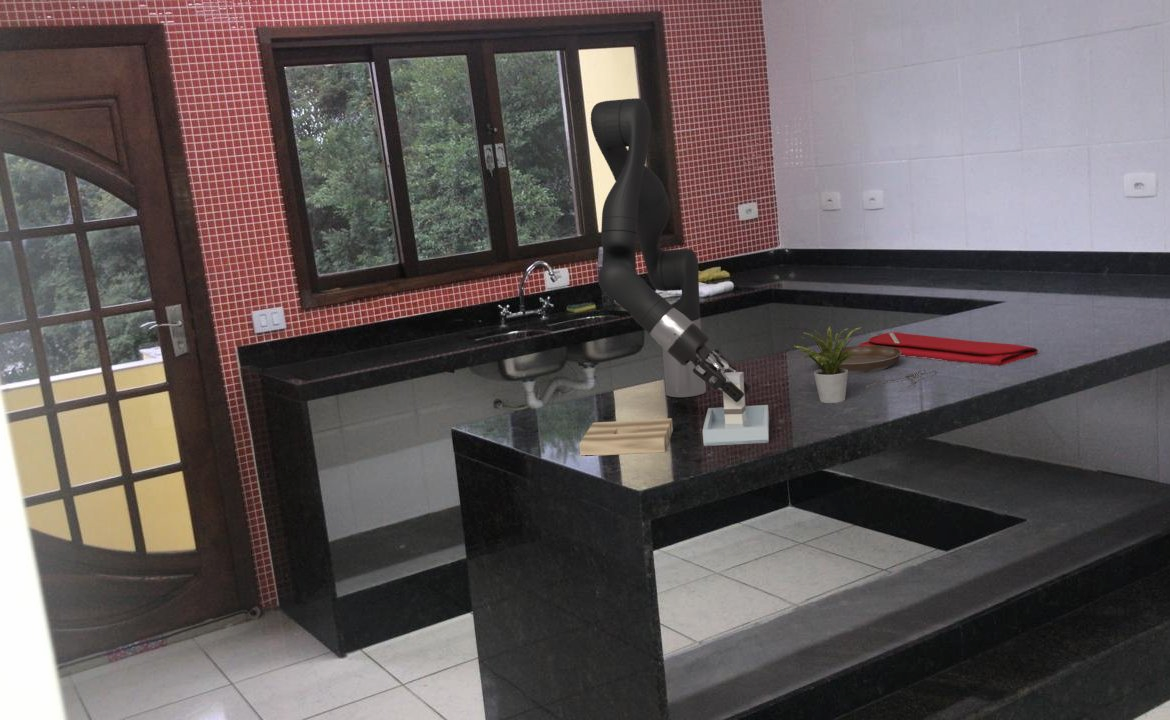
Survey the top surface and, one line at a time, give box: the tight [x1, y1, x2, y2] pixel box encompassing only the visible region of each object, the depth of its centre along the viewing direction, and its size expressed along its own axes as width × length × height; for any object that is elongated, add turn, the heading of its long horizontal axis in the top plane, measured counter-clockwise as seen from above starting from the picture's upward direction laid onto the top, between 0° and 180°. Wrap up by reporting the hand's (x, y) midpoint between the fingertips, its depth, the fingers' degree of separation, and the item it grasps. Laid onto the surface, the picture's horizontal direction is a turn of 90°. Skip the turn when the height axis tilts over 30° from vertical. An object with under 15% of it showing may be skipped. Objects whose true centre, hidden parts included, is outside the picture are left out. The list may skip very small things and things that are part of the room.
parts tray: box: [702, 404, 770, 447], centre depth 207 cm, size 18×12×3 cm, turn 170°
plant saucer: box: [818, 345, 901, 374], centre depth 258 cm, size 21×21×3 cm
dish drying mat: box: [858, 331, 1039, 367], centre depth 264 cm, size 16×41×4 cm, turn 36°
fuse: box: [722, 371, 747, 428], centre depth 206 cm, size 4×4×11 cm
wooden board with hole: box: [578, 417, 674, 456], centre depth 207 cm, size 16×16×2 cm
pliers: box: [865, 369, 937, 390], centre depth 238 cm, size 10×1×20 cm
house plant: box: [793, 325, 863, 404], centre depth 226 cm, size 14×14×16 cm
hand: (743, 394), depth 206 cm, fingers open, 5 cm apart
